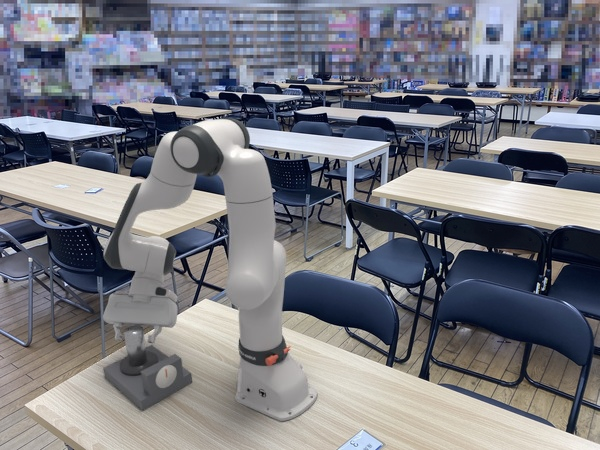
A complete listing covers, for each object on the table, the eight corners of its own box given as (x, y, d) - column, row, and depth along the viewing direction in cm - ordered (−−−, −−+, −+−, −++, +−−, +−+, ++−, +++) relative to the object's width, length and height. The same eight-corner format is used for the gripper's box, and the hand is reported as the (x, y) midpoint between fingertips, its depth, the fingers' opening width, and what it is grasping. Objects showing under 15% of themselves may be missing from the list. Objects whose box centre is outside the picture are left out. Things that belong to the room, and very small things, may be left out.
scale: (193, 382, 130) (190, 354, 127) (143, 412, 120) (139, 381, 116) (152, 353, 143) (149, 326, 140) (104, 377, 133) (99, 348, 130)
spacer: (151, 357, 134) (146, 326, 131) (141, 368, 130) (136, 336, 126) (135, 354, 136) (130, 324, 132) (125, 365, 131) (119, 334, 128)
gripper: (106, 287, 134) (92, 336, 128) (175, 290, 131) (165, 341, 126) (116, 293, 140) (104, 341, 134) (183, 297, 137) (173, 346, 131)
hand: (134, 341), depth 130 cm, fingers open, 8 cm apart
